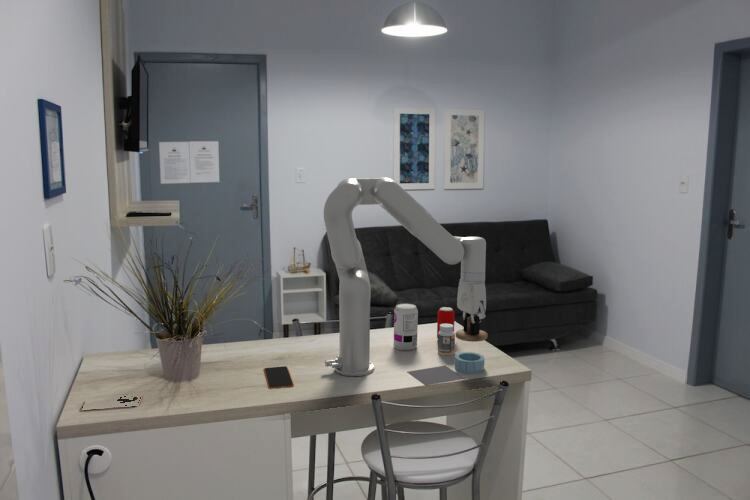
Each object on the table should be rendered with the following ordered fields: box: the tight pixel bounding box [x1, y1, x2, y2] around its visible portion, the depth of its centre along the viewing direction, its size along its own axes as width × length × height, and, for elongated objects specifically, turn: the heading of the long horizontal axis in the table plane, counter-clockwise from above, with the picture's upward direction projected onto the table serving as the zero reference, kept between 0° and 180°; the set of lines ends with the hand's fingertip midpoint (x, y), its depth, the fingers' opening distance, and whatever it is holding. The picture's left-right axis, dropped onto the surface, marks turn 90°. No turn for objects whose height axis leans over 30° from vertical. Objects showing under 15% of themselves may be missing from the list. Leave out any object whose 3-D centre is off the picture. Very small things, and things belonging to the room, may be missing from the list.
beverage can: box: [436, 306, 456, 339], centre depth 228 cm, size 6×6×12 cm
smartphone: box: [263, 365, 295, 389], centre depth 191 cm, size 8×17×1 cm, turn 15°
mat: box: [406, 365, 466, 387], centre depth 194 cm, size 14×12×1 cm
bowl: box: [454, 351, 485, 374], centre depth 200 cm, size 9×9×4 cm
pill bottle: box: [437, 324, 456, 356], centre depth 214 cm, size 6×6×10 cm
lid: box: [455, 317, 488, 343], centre depth 198 cm, size 10×10×6 cm
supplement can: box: [393, 303, 419, 351], centre depth 219 cm, size 8×8×15 cm
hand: (471, 332), depth 198 cm, fingers closed on lid, 3 cm apart
